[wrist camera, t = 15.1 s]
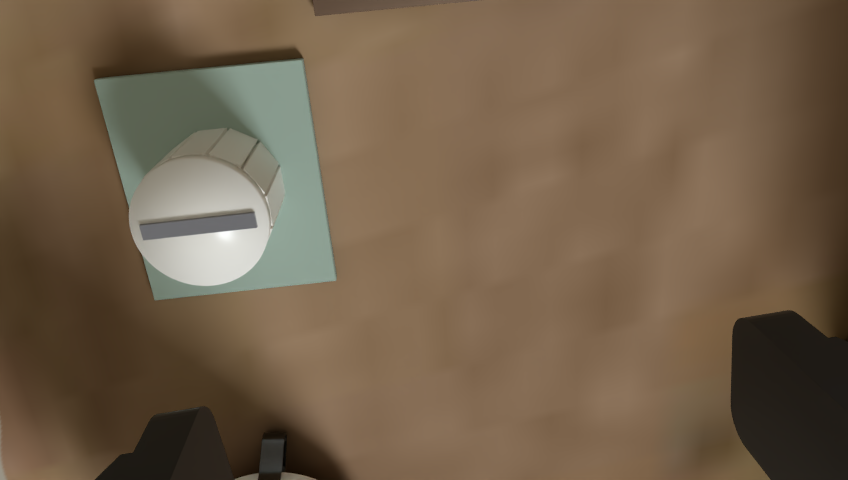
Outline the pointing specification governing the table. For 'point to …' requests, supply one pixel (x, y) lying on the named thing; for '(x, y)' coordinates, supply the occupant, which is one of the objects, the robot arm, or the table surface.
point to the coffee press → (274, 460)
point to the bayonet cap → (208, 207)
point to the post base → (369, 5)
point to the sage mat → (227, 108)
